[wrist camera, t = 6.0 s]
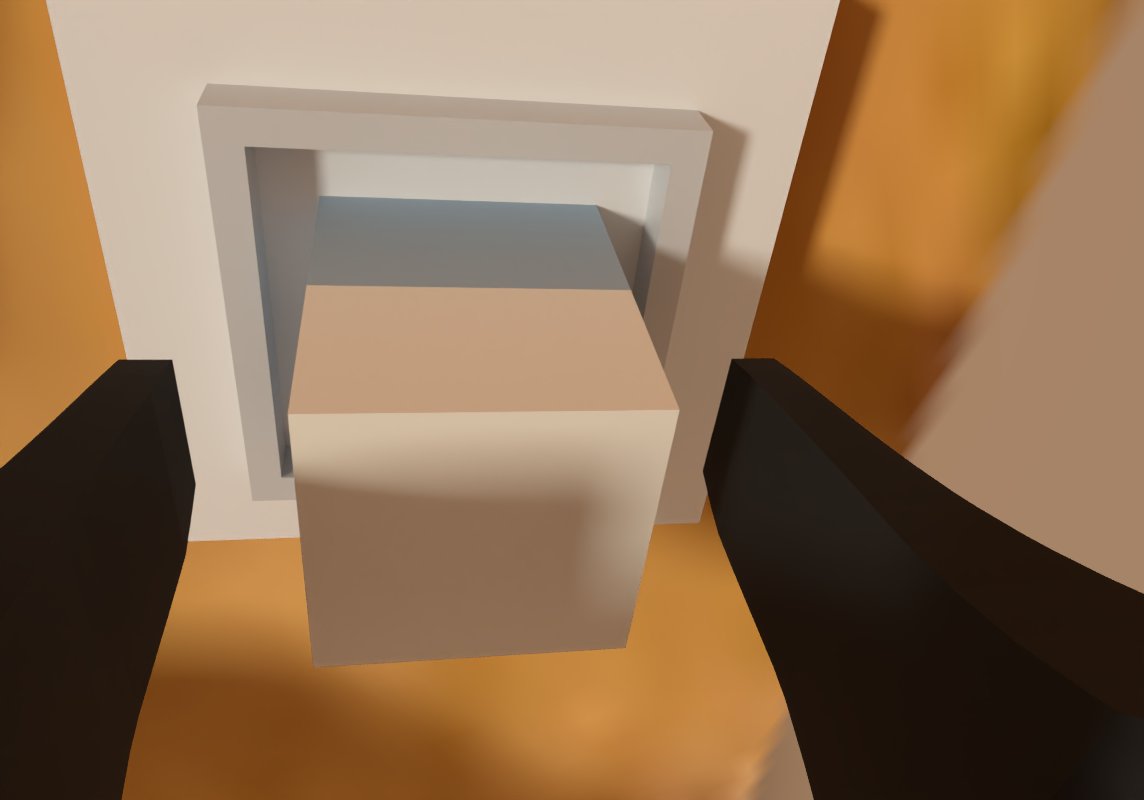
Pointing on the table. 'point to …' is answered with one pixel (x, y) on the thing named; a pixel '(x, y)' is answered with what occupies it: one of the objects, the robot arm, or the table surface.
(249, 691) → the table surface
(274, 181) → the plate
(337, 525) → the block
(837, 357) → the table surface
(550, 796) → the table surface
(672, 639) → the table surface
